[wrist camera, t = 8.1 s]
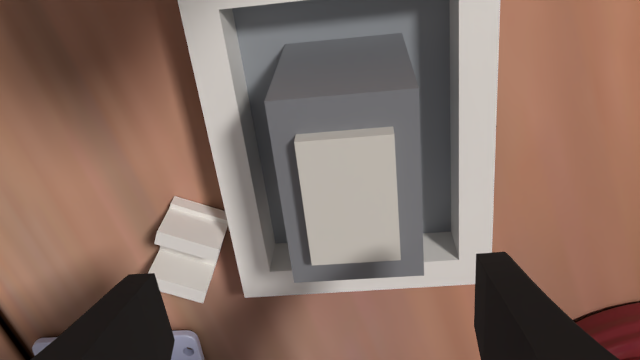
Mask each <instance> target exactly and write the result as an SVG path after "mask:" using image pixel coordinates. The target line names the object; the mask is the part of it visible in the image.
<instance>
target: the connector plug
mask: <svg viewBox="0 0 640 360" xmlns="http://www.w3.org/2000/svg"><path fill="white" fill-rule="evenodd" d="M264 103H265V109H266V115H267V121H268V127H269V133H270V139H271V145H272V151H273V157H274V164H275V170H276V176H277V182H278V188H279V194H280V200H281V206H282V212H283V218H284V224H285V231H286V237H287V243H288V249H289V255H290V261H291V267H292V273H293V279H294V283H301V282H318V281H336V280H354V279H371V278H389V277H406V276H424V253H423V218H422V183H421V147H420V112H419V87H418V84H417V81H416V77H415V74H414V71H413V67H412V64H411V61H410V58H409V54H408V51H407V48H406V44H405V41H404V38H403V35H402V33H395V34H384V35H374V36H363V37H353V38H343V39H332V40H322V41H311V42H301V43H290V44H285V46H284V49H283V52H282V54H281V57H280V60H279V63H278V65H277V68H276V71H275V74H274V76H273V79H272V82H271V85H270V87H269V90H268V93H267V96H266V98H265V101H264Z"/></svg>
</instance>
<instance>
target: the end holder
mask: <svg viewBox="0 0 640 360" xmlns="http://www.w3.org/2000/svg"><path fill="white" fill-rule="evenodd" d="M177 1H178V5H179V10H180V14H181V18H182V23H183V27H184V32H185V36H186V40H187V45H188V49H189V54H190V58H191V63H192V67H193V71H194V76H195V80H196V85H197V89H198V93H199V98H200V102H201V107H202V111H203V115H204V120H205V124H206V129H207V133H208V138H209V142H210V146H211V151H212V155H213V160H214V164H215V168H216V173H217V177H218V182H219V186H220V191H221V195H222V199H223V204H224V208H225V213H226V217H227V221H228V226H229V230H230V235H231V239H232V243H233V248H234V252H235V257H236V261H237V266H238V270H239V274H240V279H241V283H242V288H243V292H244V296H245V298H250V297H267V296H284V295H301V294H317V293H334V292H351V291H368V290H384V289H401V288H418V287H435V286H452V285H468V284H475V276H476V254H479V253H492V232H493V202H494V173H495V143H496V113H497V83H498V53H499V23H500V0H177ZM395 33H402V35H403V38H404V41H405V44H406V48H407V51H408V54H409V58H410V61H411V64H412V67H413V71H414V74H415V77H416V81H417V84H418V87H419V112H420V147H421V183H422V218H423V253H424V276H406V277H389V278H371V279H354V280H336V281H318V282H301V283H294V279H293V273H292V267H291V261H290V255H289V249H288V243H287V237H286V231H285V224H284V218H283V212H282V206H281V200H280V194H279V188H278V182H277V176H276V170H275V164H274V157H273V151H272V145H271V139H270V133H269V127H268V121H267V115H266V109H265V103H264V101H265V98H266V96H267V93H268V90H269V87H270V85H271V82H272V79H273V76H274V74H275V71H276V68H277V65H278V63H279V60H280V57H281V54H282V52H283V49H284V46H285V44H290V43H301V42H311V41H322V40H332V39H343V38H353V37H363V36H374V35H384V34H395Z"/></svg>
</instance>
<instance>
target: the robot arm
mask: <svg viewBox="0 0 640 360" xmlns="http://www.w3.org/2000/svg"><path fill="white" fill-rule="evenodd" d="M474 327H475V332H476V337H477V342H478V347H479V352H480V356H481V360H620V359H618V358H617V357H616V356H614V355H613V354H612V353H610V352H609V351H608V350H607V349H605V348H604V347H603V346H602V345H600V344H599V343H598V342H597V341H596V340H595V339H593V338H592V337H591V336H590V335H589V334H588V333H586V332H585V331H584V330H583V329H582V328H581V327H580V326H578V325H577V324H576V323H575V322H574V321H573V320H572V319H571V318H570V317H569V316H568V315H566V314H565V313H564V312H563V311H562V310H561V309H560V308H559V307H558V306H557V305H556V304H555V303H554V302H553V301H552V300H551V299H550V298H549V297H548V296H547V295H546V294H545V293H544V292H543V291H542V290H541V289H540V288H539V287H538V286H537V285H536V284H535V283H534V282H533V281H532V280H531V279H530V278H529V277H528V276H527V274H526V273H525V272H524V271H523V270H522V269H521V268H520V267H519V266H518V265H517V264H516V262H515V261H514V260H513V259H512V258H511V257H510V256H509V255H508V254H507V253H506V252H496V253H479V254H476V276H475V316H474ZM187 347H188V348H191V349H192V350H191V349H188V348H187ZM32 350H33V353H34V355H35V356H34V357H33V358H32V359H31V360H205V359H204V355H203V352H202V348H201V345H200V341H199V338H198V336H197V334H195V333H194V332H192V331H189V330H180V331H172V329H171V326H170V323H169V319H168V316H167V313H166V309H165V306H164V303H163V300H162V296H161V293H160V290H159V287H158V283H157V280H156V277H155V273H148V274H132V275H128V276H127V277H125V278H124V279H123V280H122V281H120V282H119V283H118V284H117V285H116V286H115V287H114V288H112V289H111V290H110V291H109V292H108V293H107V294H106V295H105V296H103V297H102V298H101V299H100V300H99V301H98V302H97V303H96V304H95V305H94V306H92V307H91V308H90V309H89V310H88V311H87V312H86V313H85V314H84V315H82V316H81V317H80V318H79V319H78V320H77V321H76V322H75V323H73V324H72V325H71V326H70V327H69V328H68V329H67V330H66V331H64V332H63V333H62V334H61V335H60V336H59V337H52V338H40V339H38V340H36V341H35V343H34V345H33V347H32Z"/></svg>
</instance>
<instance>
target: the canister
mask: <svg viewBox="0 0 640 360" xmlns="http://www.w3.org/2000/svg"><path fill="white" fill-rule="evenodd" d="M576 324H577V325H578V326H580V327H581V328H582V329H583V330H584V331H585V332H586V333H588V334H589V335H590V336H591V337H592V338H593V339H595V340H596V341H597V342H598V343H599V344H600V345H602V346H603V347H604V348H605V349H607V350H608V351H609V352H610V353H612V354H613V355H614V356H616V357H617V358H618V359H620V360H640V303H634V304H629V305H624V306H620V307H616V308H612V309H609V310H606V311H602V312H600V313H597V314H594V315H591V316H589V317H587V318H584V319H582V320H580V321H578V322H576Z"/></svg>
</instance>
